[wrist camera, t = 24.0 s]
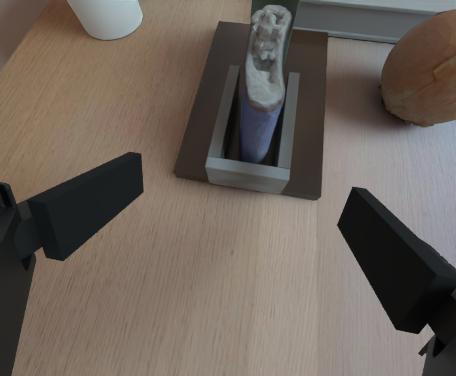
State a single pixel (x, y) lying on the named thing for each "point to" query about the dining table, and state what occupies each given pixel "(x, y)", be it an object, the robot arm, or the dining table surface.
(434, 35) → the onion
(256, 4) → the brown board with holder
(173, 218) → the dining table surface
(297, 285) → the dining table surface
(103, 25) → the cup
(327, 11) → the book
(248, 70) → the flask
